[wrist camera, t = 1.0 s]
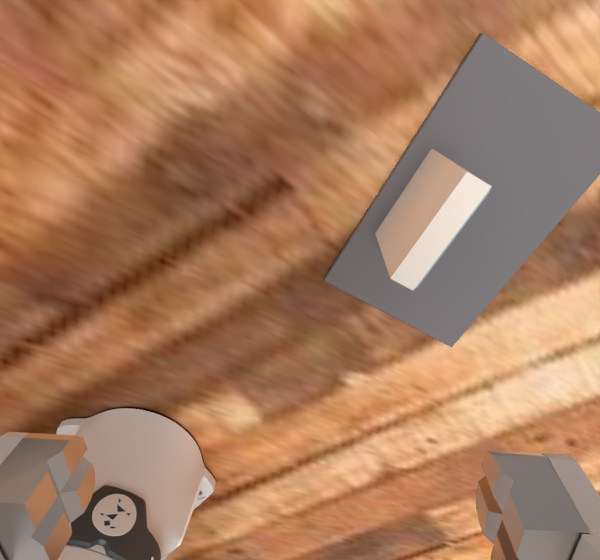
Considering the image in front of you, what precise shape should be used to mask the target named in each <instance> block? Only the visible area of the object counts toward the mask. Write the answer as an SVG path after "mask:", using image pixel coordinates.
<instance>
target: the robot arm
mask: <svg viewBox="0 0 600 560" xmlns="http://www.w3.org/2000/svg"><path fill="white" fill-rule="evenodd" d="M482 467H483V469H484V472H485V475H486V476H485V477H483V478H482V479H481V480H479V481H478V485H477V490H476V509H477V514H478V519H479V523H480V526H481V529H482V532H483V534H484V535H485V536H486V537H487V538H488V539H489V540H490V541H491V542H492V543H493V544H494V546H493V550H492V554H491V560H600V497H599V495H598V493H597V492H596V490H595V489H594V487H593V485H592V484H591V482H590V481H589V479H588V478H587V476H586V474H585V473H584V471H583V470H582V468H581V467H580V465H579V463H578V462H577V460H576V459H575V458H574V457H573V456H571V455H570V454H547V453H542V454H540V453H521V452H487V453H486V455H485V456H484V460H483V464H482ZM215 486H216V481H215V479H214V477H213V476H212V475H211V474H210V472H209V471H208V470H207V469H206V468H205V466H204V463H203V460H202V456H201V452H200V450H199V448H198V446H197V444H196V442H195V441H194V439H193V438H192V437H191V436H190V435H189V434H188V433H187V432H186V431H185V430H184V429H183V428H182V427H180V426H179V425H178V424H176V423H175V422H173V421H171V420H170V419H168V418H166V417H164V416H161V415H159V414H156V413H153V412H149V411H145V410H140V409H131V408H121V409H113V410H108V411H105V412H102V413H99V414H97V415H95V416H92V417H89V418H75V419H66V420H63V421H62V422H61V424H60V425H59V427H58V429H57V432H56V434H43V433H22V432H8V433H6V434H4V435H2V436H0V560H165V559H166V558H167V556H168V554H169V553H171V552H172V551H175V549H176V548H177V547H178V546H180V545H181V543H182V541H183V538H184V535H185V533H186V530H187V527H188V524H189V521H190V518H191V515H192V512H193V510H194V509H195V508H196V507H197V506H198V505H200V504H201V503H202V502H203V501H204V500H205V499H206V498H207V497H209V496H210V495H211V494H212V493H213V491H214V488H215Z"/></svg>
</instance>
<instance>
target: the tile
mask: <svg viewBox="0 0 600 560" xmlns="http://www.w3.org/2000/svg"><path fill="white" fill-rule="evenodd" d="M491 187H492V186H490V185H489V184H487V183H486V182H484V181H483V180H481V179H480V178H478V177H477V176H475V175H474V174H472V173H470V172H469V171H467V170H466V169H464V168H463V167H461V166H460V165H458V164H457V163H455V162H454V161H452V160H451V159H449V158H447V157H446V156H444V155H443V154H441V153H439V152H438V151H436V150H434V149H433V148H431V150H430V151H429V153H428V154H427V156H426V157H425V159H424V160H423V162H422V163H421V165H420V166H419V168H418V169H417V171H416V172H415V174H414V176H413V177H412V179H411V180H410V182H409V183H408V185H407V186H406V188H405V189H404V191H403V192H402V194H401V195H400V197H399V198H398V200H397V201H396V203H395V204H394V206H393V207H392V209H391V210H390V212H389V213H388V215H387V216H386V218H385V219H384V221H383V222H382V224H381V225H380V227H379V228H378V230H377V231H376V233H375V235H376V238H377V241H378V243H379V246H380V249H381V252H382V255H383V258H384V261H385V264H386V267H387V270H388V273H389V276H390V279H392V280H394V281H396V282H398V283H400V284H401V285H403V286H405V287H407V288H409V289H411V290H414V289H415V288H417V287H418V286H419V285H420V284H421V282H422V281H423V280H424V278H425V277H426V276H427V274H428V273H429V272H430V270H431V269H432V268H433V266H434V265H435V264H436V262H437V261H438V260H439V258H440V257H441V256H442V254H443V253H444V252H445V250H446V249H447V248H448V246H449V245H450V244H451V243H452V241H453V240H454V239H455V237H456V236H457V235H458V233H459V232H460V231H461V229H462V228H463V227H464V225H465V224H466V223H467V221H468V220H469V219H470V217H471V216H472V215H473V213H474V212H475V211H476V209H477V208H478V207H479V206H480V204H481V203H482V202H483V200H484V199H485V198H486V196H487V195H488V194H489V192H490V191H491V190H490V188H491Z"/></svg>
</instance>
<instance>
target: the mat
mask: <svg viewBox="0 0 600 560" xmlns="http://www.w3.org/2000/svg"><path fill="white" fill-rule="evenodd" d="M431 148H433V149H434V150H436V151H438V152H439V153H441V154H443V155H444V156H446V157H447V158H449V159H451V160H452V161H454V162H455V163H457V164H458V165H460V166H461V167H463V168H464V169H466V170H467V171H469V172H470V173H472V174H474V175H475V176H477V177H478V178H480V179H481V180H483V181H484V182H486V183H487V184H489V185H490V186H492V187H491V188H490V190H491V191H490V192H489V194H488V195H487V196H486V198H485V199H484V200H483V202H482V203H481V204H480V206H479V207H478V208H477V209H476V211H475V212H474V213H473V215H472V216H471V217H470V219H469V220H468V221H467V223H466V224H465V225H464V227H463V228H462V229H461V231H460V232H459V233H458V235H457V236H456V237H455V239H454V240H453V241H452V243H451V244H450V245H449V246H448V248H447V249H446V250H445V252H444V253H443V254H442V256H441V257H440V258H439V260H438V261H437V262H436V264H435V265H434V266H433V268H432V269H431V270H430V272H429V273H428V274H427V276H426V277H425V278H424V280H423V281H422V282H421V284H420V285H419V286H418V287H417V288H415V289H414V290H411V289H409V288H407V287H405V286H403V285H401V284H400V283H398V282H396V281H394V280H392V279H390V276H389V273H388V270H387V267H386V264H385V261H384V258H383V255H382V252H381V249H380V246H379V243H378V241H377V238H376V235H375V233H376V231H377V230H378V228H379V227H380V225H381V224H382V222H383V221H384V219H385V218H386V216H387V215H388V213H389V212H390V210H391V209H392V207H393V206H394V204H395V203H396V201H397V200H398V198H399V197H400V195H401V194H402V192H403V191H404V189H405V188H406V186H407V185H408V183H409V182H410V180H411V179H412V177H413V176H414V174H415V172H416V171H417V169H418V168H419V166H420V165H421V163H422V162H423V160H424V159H425V157H426V156H427V154H428V153H429V151H430V150H431ZM599 175H600V112H598V111H597V110H595V109H594V108H592V107H591V106H589V105H588V104H586V103H585V102H583V101H582V100H581V99H579V98H578V97H576V96H575V95H573V94H572V93H570V92H569V91H567V90H566V89H564V88H563V87H561V86H560V85H559V84H557V83H556V82H554V81H553V80H551V79H550V78H548V77H547V76H545V75H544V74H542V73H541V72H540V71H538V70H537V69H535V68H534V67H532V66H531V65H529V64H528V63H526V62H525V61H523V60H522V59H520V58H519V57H518V56H516V55H515V54H513V53H512V52H510V51H509V50H507V49H506V48H504V47H503V46H501V45H500V44H498V43H497V42H496V41H494V40H493V39H491V38H490V37H488V36H487V35H485V34H484V33H481V34H480V35H479V37H478V38H477V40H476V41H475V43H474V44H473V46H472V48H471V49H470V51H469V52H468V54H467V55H466V57H465V58H464V60H463V62H462V63H461V65H460V66H459V68H458V69H457V71H456V73H455V74H454V76H453V77H452V79H451V80H450V82H449V83H448V85H447V87H446V88H445V90H444V91H443V93H442V94H441V96H440V98H439V99H438V101H437V102H436V104H435V105H434V107H433V108H432V110H431V112H430V113H429V115H428V116H427V118H426V119H425V121H424V123H423V124H422V126H421V127H420V129H419V130H418V132H417V133H416V135H415V137H414V138H413V140H412V141H411V143H410V144H409V146H408V148H407V149H406V151H405V152H404V154H403V155H402V157H401V159H400V160H399V162H398V163H397V165H396V166H395V168H394V169H393V171H392V173H391V174H390V176H389V177H388V179H387V180H386V182H385V184H384V185H383V187H382V188H381V190H380V191H379V193H378V194H377V196H376V198H375V199H374V201H373V202H372V204H371V205H370V207H369V209H368V210H367V212H366V213H365V215H364V216H363V218H362V219H361V221H360V223H359V224H358V226H357V227H356V229H355V230H354V232H353V234H352V235H351V237H350V238H349V240H348V241H347V243H346V244H345V246H344V248H343V249H342V251H341V252H340V254H339V255H338V257H337V259H336V260H335V262H334V263H333V265H332V266H331V268H330V270H329V271H328V273H327V274H326V276H325V277H324V281H325V282H327V283H329V284H331V285H333V286H335V287H337V288H339V289H341V290H343V291H345V292H347V293H349V294H350V295H352V296H354V297H356V298H358V299H360V300H362V301H364V302H366V303H368V304H370V305H372V306H374V307H375V308H377V309H379V310H381V311H383V312H385V313H387V314H389V315H391V316H393V317H395V318H397V319H399V320H400V321H402V322H404V323H406V324H408V325H410V326H412V327H414V328H416V329H418V330H420V331H422V332H424V333H425V334H427V335H429V336H431V337H433V338H435V339H437V340H439V341H441V342H443V343H445V344H447V345H449V346H450V347H452V346H453V345H454V344H455V343H456V342H457V340H458V339H459V338H460V337H461V336H462V335H463V333H464V332H465V331H466V330H467V329H468V328H469V326H470V325H471V324H472V323H473V322H474V321H475V319H476V318H477V317H478V316H479V315H480V314H481V312H482V311H483V310H484V309H485V308H486V307H487V305H488V304H489V303H490V302H491V301H492V300H493V298H494V297H495V296H496V295H497V294H498V293H499V291H500V290H501V289H502V288H503V287H504V286H505V284H506V283H507V282H508V281H509V280H510V279H511V277H512V276H513V275H514V274H515V273H516V272H517V270H518V269H519V268H520V267H521V266H522V265H523V263H524V262H525V261H526V260H527V259H528V258H529V256H530V255H531V254H532V253H533V252H534V251H535V249H536V248H537V247H538V246H539V245H540V244H541V242H542V241H543V240H544V239H545V238H546V237H547V235H548V234H549V233H550V232H551V231H552V230H553V228H554V227H555V226H556V225H557V224H558V223H559V221H560V220H561V219H562V218H563V217H564V216H565V214H566V213H567V212H568V211H569V210H570V209H571V207H572V206H573V205H574V204H575V203H576V202H577V200H578V199H579V198H580V197H581V196H582V195H583V193H584V192H585V191H586V190H587V189H588V188H589V186H590V185H591V184H592V183H593V182H594V181H595V179H596V178H597V177H598V176H599Z"/></svg>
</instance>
